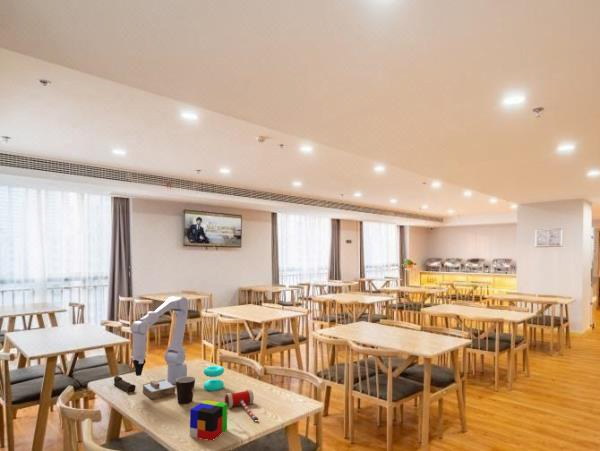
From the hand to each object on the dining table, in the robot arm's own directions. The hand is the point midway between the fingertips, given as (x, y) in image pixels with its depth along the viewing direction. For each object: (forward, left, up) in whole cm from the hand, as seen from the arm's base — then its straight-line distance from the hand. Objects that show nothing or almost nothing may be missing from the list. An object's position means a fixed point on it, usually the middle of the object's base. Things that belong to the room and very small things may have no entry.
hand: (138, 375), depth 192 cm
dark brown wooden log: (+3, -14, -10) cm, 18 cm away
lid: (-8, +4, -6) cm, 11 cm away
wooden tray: (-8, +4, -9) cm, 13 cm away
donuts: (-32, +14, -10) cm, 37 cm away
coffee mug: (-12, +22, -10) cm, 27 cm away
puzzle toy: (-7, +56, -10) cm, 58 cm away
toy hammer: (-30, +47, -10) cm, 56 cm away
